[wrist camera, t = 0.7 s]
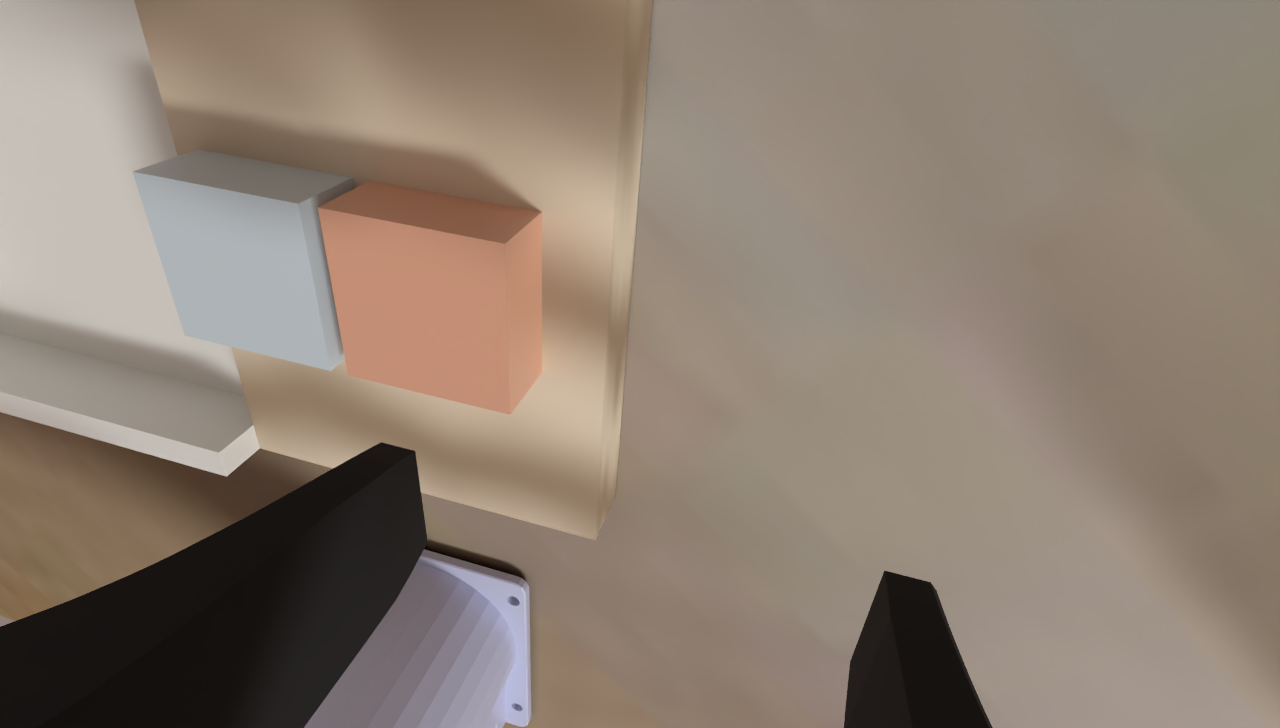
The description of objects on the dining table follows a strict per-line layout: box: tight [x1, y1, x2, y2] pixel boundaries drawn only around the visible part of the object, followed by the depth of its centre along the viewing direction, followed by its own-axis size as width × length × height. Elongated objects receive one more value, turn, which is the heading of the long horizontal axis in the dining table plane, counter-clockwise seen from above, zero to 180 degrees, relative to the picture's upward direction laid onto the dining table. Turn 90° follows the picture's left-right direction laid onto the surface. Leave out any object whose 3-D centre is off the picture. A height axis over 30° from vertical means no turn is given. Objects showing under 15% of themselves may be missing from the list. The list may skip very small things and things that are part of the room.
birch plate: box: [134, 0, 653, 540], centre depth 19 cm, size 16×12×2 cm
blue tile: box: [133, 149, 354, 371], centre depth 18 cm, size 4×4×2 cm
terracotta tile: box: [318, 181, 542, 415], centre depth 17 cm, size 4×4×2 cm
